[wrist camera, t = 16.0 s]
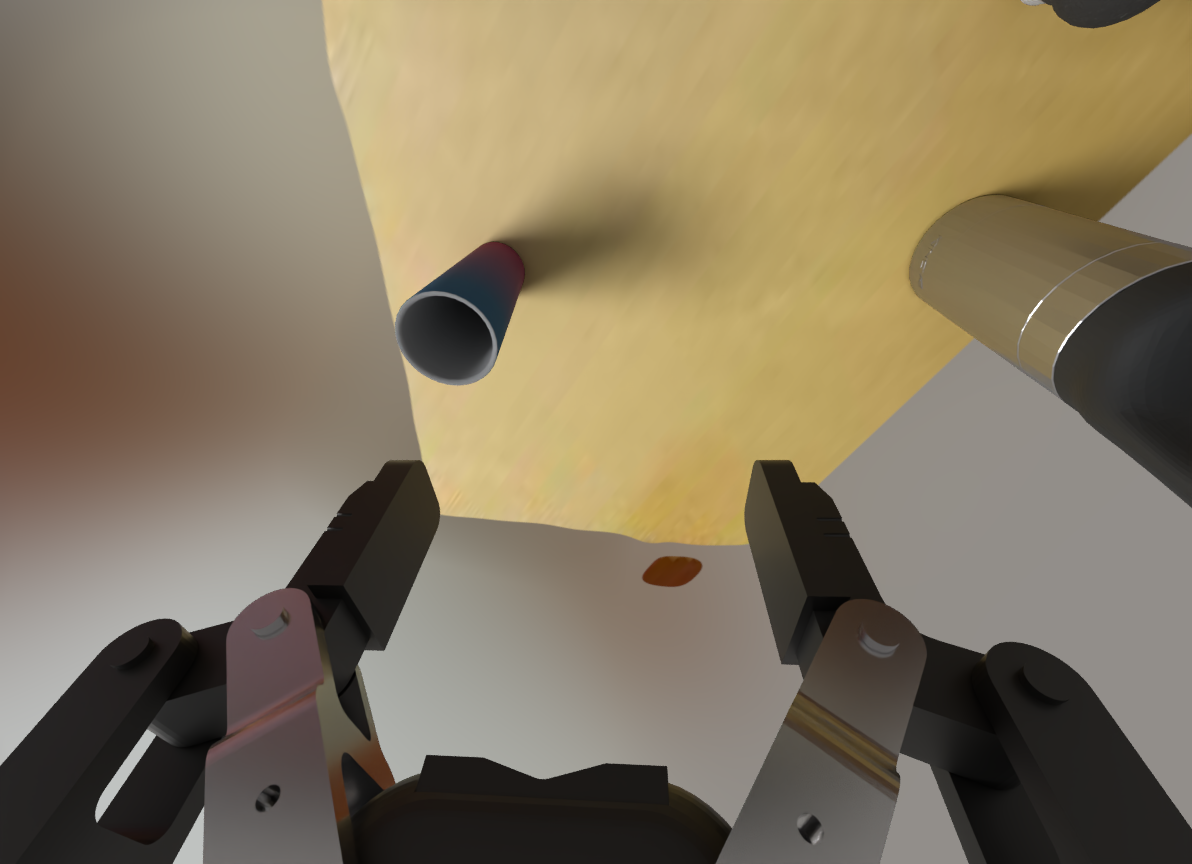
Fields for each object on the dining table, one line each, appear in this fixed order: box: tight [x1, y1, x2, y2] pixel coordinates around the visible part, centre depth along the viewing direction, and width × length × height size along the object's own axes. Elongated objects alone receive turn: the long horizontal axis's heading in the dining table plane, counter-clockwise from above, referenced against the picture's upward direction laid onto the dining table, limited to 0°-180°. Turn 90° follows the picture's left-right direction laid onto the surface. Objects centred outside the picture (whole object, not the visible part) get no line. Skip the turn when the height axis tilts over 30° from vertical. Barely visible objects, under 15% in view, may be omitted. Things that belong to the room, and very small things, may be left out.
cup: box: [395, 242, 525, 385], centre depth 36 cm, size 7×7×15 cm
